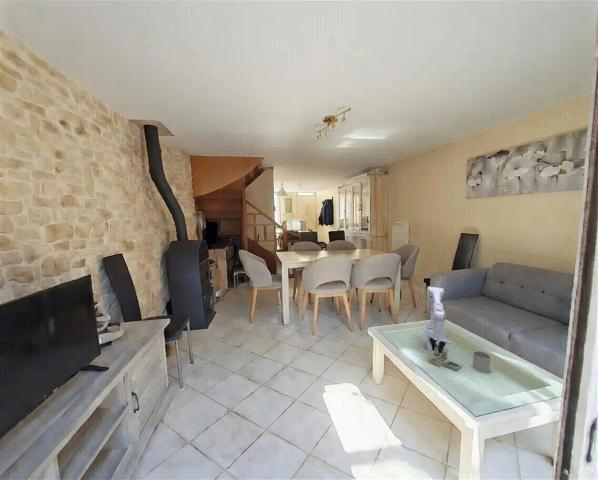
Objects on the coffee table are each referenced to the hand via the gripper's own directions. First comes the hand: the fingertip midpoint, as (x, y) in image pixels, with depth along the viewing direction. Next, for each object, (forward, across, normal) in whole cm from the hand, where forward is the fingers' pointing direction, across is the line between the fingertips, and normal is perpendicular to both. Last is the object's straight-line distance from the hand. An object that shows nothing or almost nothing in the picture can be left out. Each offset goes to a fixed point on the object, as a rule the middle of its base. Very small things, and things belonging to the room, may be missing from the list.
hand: (437, 351), depth 162 cm
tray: (+8, 0, +2) cm, 8 cm away
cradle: (+8, +8, +5) cm, 13 cm away
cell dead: (+8, 0, +10) cm, 13 cm away
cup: (+8, +19, +16) cm, 26 cm away
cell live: (+2, 0, 0) cm, 2 cm away
